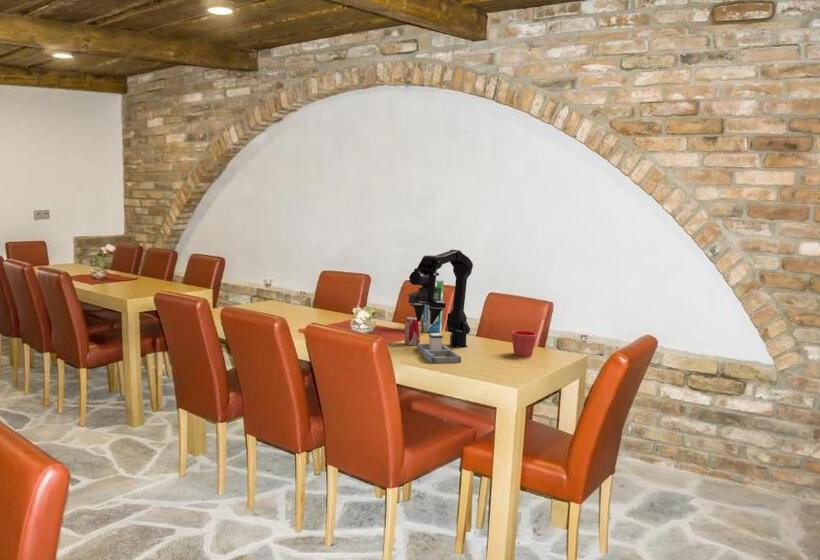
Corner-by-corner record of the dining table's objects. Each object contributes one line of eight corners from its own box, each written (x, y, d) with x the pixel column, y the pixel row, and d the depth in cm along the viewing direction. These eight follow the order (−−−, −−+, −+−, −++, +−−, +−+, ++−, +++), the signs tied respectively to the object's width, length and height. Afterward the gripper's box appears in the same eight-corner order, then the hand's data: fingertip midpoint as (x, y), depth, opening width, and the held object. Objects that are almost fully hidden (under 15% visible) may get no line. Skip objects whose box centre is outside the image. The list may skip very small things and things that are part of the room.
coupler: (438, 351, 305) (439, 333, 304) (441, 353, 300) (442, 335, 299) (428, 351, 303) (429, 333, 302) (431, 353, 299) (432, 335, 298)
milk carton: (421, 332, 344) (422, 282, 341) (424, 328, 353) (425, 279, 350) (439, 333, 343) (441, 282, 340) (441, 330, 352) (443, 280, 349)
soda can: (418, 346, 313) (419, 320, 311) (403, 345, 314) (403, 319, 312) (421, 343, 319) (422, 317, 318) (406, 342, 321) (406, 316, 319)
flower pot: (538, 353, 305) (539, 331, 304) (531, 358, 295) (532, 336, 294) (514, 350, 309) (515, 329, 308) (507, 355, 299) (508, 333, 298)
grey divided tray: (442, 348, 310) (442, 341, 309) (460, 362, 285) (461, 354, 284) (415, 349, 307) (415, 341, 306) (431, 363, 282) (431, 355, 281)
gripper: (400, 282, 295) (396, 319, 296) (426, 286, 280) (422, 325, 280) (421, 284, 302) (417, 320, 302) (448, 288, 286) (444, 326, 287)
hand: (424, 322), depth 293 cm, fingers open, 9 cm apart
